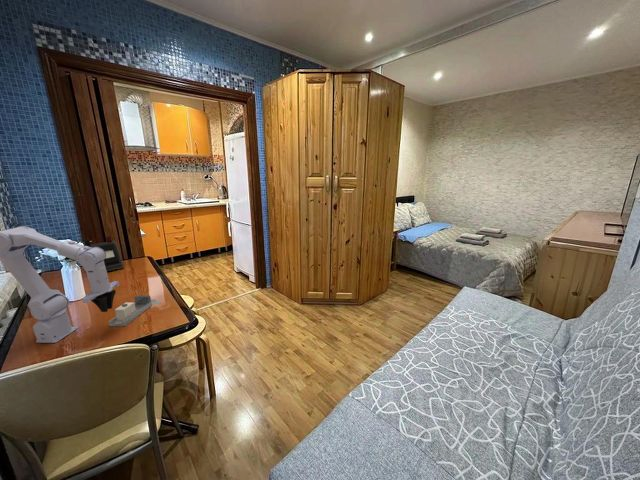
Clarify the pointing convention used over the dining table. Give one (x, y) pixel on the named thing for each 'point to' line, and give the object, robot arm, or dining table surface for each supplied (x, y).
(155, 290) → the dining table surface
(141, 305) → the rail
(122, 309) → the module
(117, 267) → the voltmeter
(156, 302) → the mounting bracket
